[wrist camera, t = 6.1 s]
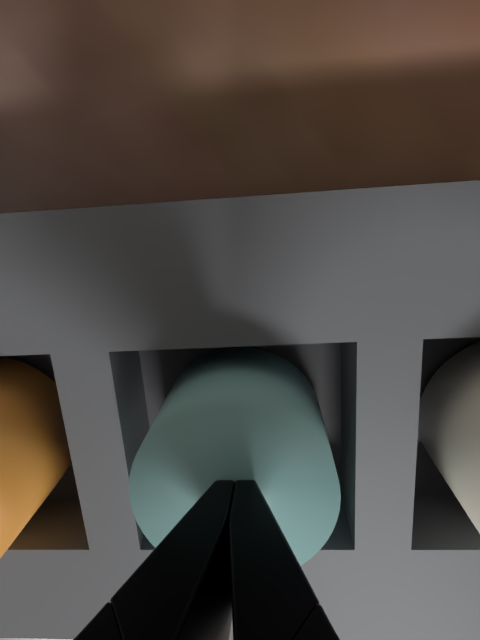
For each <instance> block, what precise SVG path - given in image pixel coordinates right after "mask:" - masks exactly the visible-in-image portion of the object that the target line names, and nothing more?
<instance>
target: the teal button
mask: <svg viewBox="0 0 480 640" xmlns="http://www.w3.org/2000/svg"><path fill="white" fill-rule="evenodd" d="M216 480H233V481H234V482H236V481H237V480H255V481H256V482H257V484H258V486H259V488H260V490H261V492H262V494H263V496H264V498H265V499H266V501H267V503H268V505H269V507H270V509H271V511H272V513H273V515H274V517H275V518H276V520H277V522H278V524H279V526H280V528H281V530H282V532H283V534H284V536H285V538H286V539H287V541H288V543H289V545H290V547H291V549H292V551H293V553H294V555H295V557H296V558H297V560H298V562H299V564H300V566H301V565H303V564H304V563H306V562H307V561H308V560H310V559H311V558H312V557H313V556H314V555H315V554H316V553H317V552H319V550H320V549H321V548H322V547H323V546H324V544H325V543H326V542H327V540H328V539H329V537H330V535H331V534H332V532H333V530H334V527H335V525H336V522H337V519H338V515H339V511H340V502H341V493H340V484H339V480H338V475H337V471H336V467H335V463H334V460H333V456H332V452H331V448H330V444H329V440H328V436H327V432H326V428H325V425H324V421H323V417H322V413H321V409H320V405H319V401H318V398H317V396H316V393H315V391H314V389H313V387H312V385H311V384H310V382H309V381H308V379H307V378H306V377H305V376H304V374H303V373H302V372H301V371H300V370H299V369H298V368H297V367H295V366H294V365H293V364H291V363H290V362H289V361H287V360H286V359H284V358H282V357H280V356H279V355H276V354H274V353H271V352H269V351H265V350H262V349H258V348H251V347H231V348H224V349H220V350H216V351H213V352H210V353H208V354H205V355H204V356H202V357H200V358H198V359H196V360H195V361H194V362H192V363H191V364H189V365H188V366H187V367H186V368H185V369H184V370H183V371H182V372H181V374H180V375H179V376H178V377H177V379H176V380H175V382H174V384H173V386H172V387H171V389H170V391H169V393H168V395H167V397H166V399H165V401H164V402H163V404H162V406H161V408H160V410H159V412H158V414H157V416H156V418H155V420H154V421H153V423H152V425H151V427H150V429H149V431H148V433H147V435H146V437H145V438H144V440H143V442H142V444H141V446H140V448H139V450H138V452H137V454H136V456H135V459H134V461H133V464H132V467H131V472H130V476H129V497H130V503H131V507H132V511H133V514H134V516H135V519H136V521H137V523H138V525H139V527H140V529H141V530H142V532H143V534H144V535H145V536H146V538H147V539H148V540H149V542H150V543H151V544H152V545H153V546H154V547H155V548H156V547H157V546H158V545H159V543H160V542H161V541H162V540H163V539H164V538H165V537H166V535H167V534H168V533H169V532H170V531H171V530H172V529H173V528H174V526H175V525H176V524H177V523H178V522H179V521H180V520H181V519H182V517H183V516H184V515H185V514H186V513H187V512H188V511H189V510H190V508H191V507H192V506H193V505H194V504H195V503H196V502H197V500H198V499H199V498H200V497H201V496H202V495H203V494H204V493H205V491H206V490H207V489H208V488H209V487H210V486H211V485H212V484H213V482H214V481H216Z"/></svg>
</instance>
